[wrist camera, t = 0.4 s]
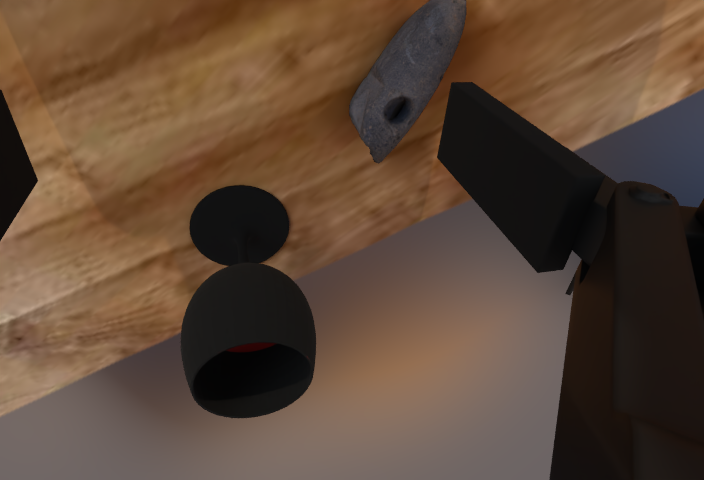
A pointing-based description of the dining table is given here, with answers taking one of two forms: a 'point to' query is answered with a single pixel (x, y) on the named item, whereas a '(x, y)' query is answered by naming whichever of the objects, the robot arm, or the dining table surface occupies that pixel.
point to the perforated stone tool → (406, 75)
